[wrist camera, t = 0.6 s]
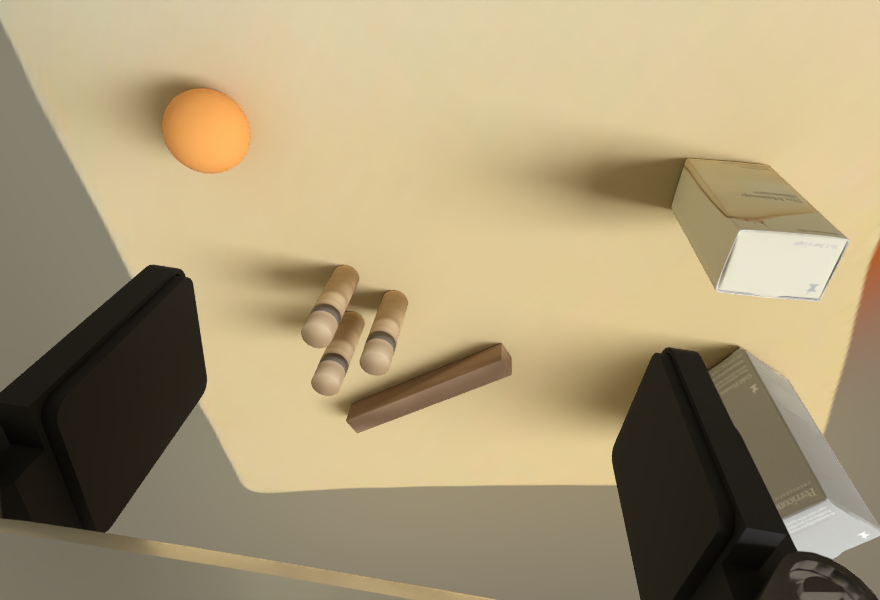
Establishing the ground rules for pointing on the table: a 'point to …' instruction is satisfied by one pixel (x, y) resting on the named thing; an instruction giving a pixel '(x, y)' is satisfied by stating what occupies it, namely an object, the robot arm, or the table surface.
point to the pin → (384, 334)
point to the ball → (206, 130)
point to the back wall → (431, 388)
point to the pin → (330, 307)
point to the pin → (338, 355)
